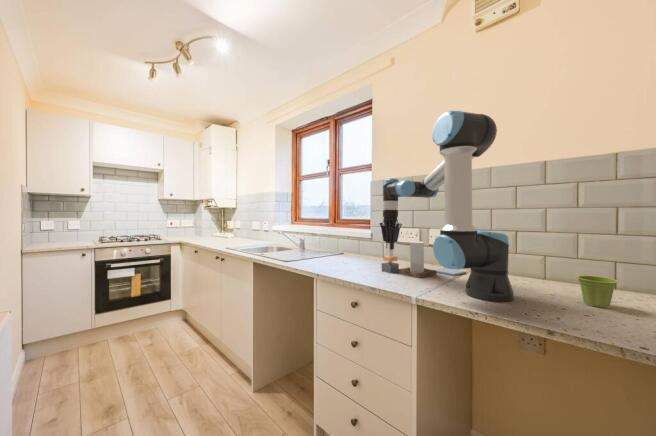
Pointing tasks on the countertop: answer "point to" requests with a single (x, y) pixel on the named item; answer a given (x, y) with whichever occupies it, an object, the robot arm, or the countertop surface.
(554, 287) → the countertop surface
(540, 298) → the countertop surface
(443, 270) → the rubber pad
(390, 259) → the plunger
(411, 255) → the skincare box
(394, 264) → the block
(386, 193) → the robot arm
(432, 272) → the walnut dock
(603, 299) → the plant pot
